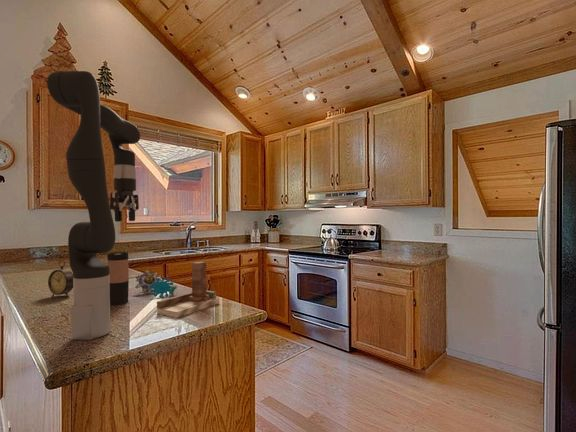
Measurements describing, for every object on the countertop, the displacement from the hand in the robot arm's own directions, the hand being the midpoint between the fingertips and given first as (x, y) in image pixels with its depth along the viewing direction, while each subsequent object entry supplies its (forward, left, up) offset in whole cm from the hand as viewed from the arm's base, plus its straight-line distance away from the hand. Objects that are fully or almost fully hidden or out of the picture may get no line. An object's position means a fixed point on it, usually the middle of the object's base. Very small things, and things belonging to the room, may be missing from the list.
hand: (125, 221), depth 120 cm
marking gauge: (+7, -26, -31) cm, 41 cm away
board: (+2, -24, -33) cm, 41 cm away
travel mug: (+9, +9, -33) cm, 36 cm away
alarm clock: (+18, +41, -33) cm, 56 cm away
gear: (+21, -4, -33) cm, 39 cm away
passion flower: (+28, +7, -33) cm, 44 cm away
